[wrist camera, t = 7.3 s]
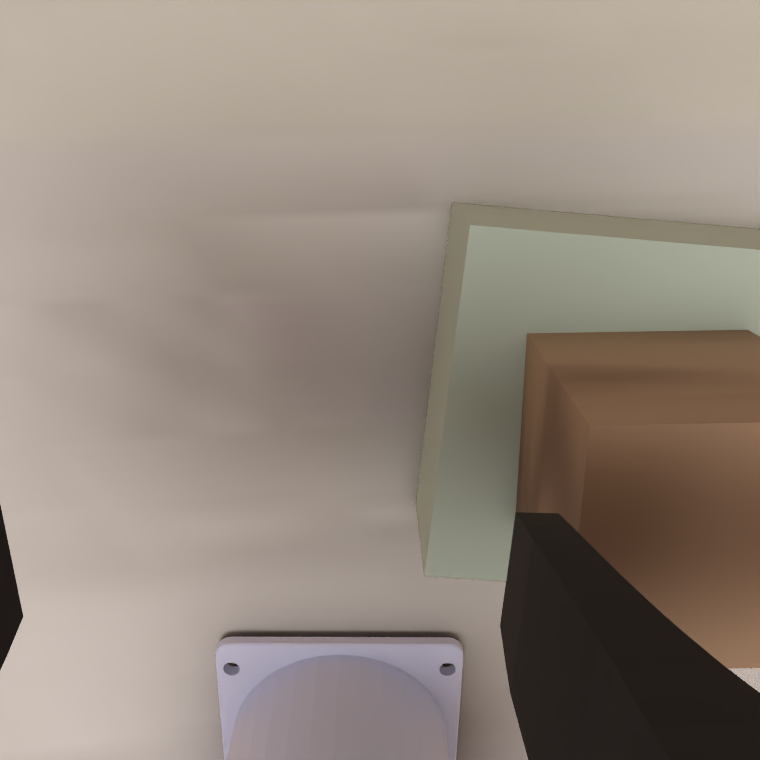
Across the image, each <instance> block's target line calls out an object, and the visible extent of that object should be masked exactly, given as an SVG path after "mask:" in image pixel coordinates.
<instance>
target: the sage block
mask: <svg viewBox="0 0 760 760" xmlns="http://www.w3.org/2000/svg"><path fill="white" fill-rule="evenodd" d="M702 330H749V331H751V332H753V333H754V334H756V335H758V336H759V337H760V229H752V228H740V227H729V226H717V225H706V224H694V223H682V222H671V221H659V220H648V219H636V218H625V217H613V216H602V215H590V214H579V213H567V212H556V211H544V210H533V209H521V208H510V207H498V206H487V205H475V204H464V203H452V206H451V215H450V223H449V231H448V240H447V248H446V256H445V265H444V273H443V282H442V290H441V298H440V307H439V315H438V323H437V332H436V340H435V348H434V357H433V365H432V373H431V382H430V390H429V399H428V407H427V415H426V424H425V432H424V440H423V449H422V457H421V465H420V474H419V482H418V491H417V499H416V508H417V517H418V526H419V534H420V543H421V552H422V561H423V569H424V576H430V577H445V578H461V579H477V580H492V581H506V580H507V572H508V565H509V557H510V550H511V542H512V535H513V527H514V520H515V513H516V501H517V484H518V468H519V452H520V436H521V420H522V404H523V388H524V371H525V355H526V340H527V333H579V332H640V331H702Z"/></svg>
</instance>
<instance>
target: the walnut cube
mask: <svg viewBox="0 0 760 760" xmlns="http://www.w3.org/2000/svg"><path fill="white" fill-rule="evenodd" d="M516 512H526V513H559V514H560V515H561V516H562V517H563V518H564V519H565V520H566V521H567V522H568V523H569V524H570V525H571V526H572V527H573V528H574V529H575V530H576V531H577V532H578V533H579V534H580V535H581V536H582V537H583V538H584V539H585V540H586V541H587V542H588V543H589V544H590V545H591V546H592V547H593V548H594V549H595V550H596V551H597V552H598V553H599V554H600V555H601V556H602V557H603V558H604V559H605V560H606V561H607V562H608V563H610V564H611V565H612V566H613V567H614V568H615V569H616V570H617V571H618V572H619V573H620V574H621V575H622V576H623V577H624V578H625V579H626V580H627V581H628V582H629V583H630V584H631V585H632V586H633V587H634V588H635V589H636V590H638V591H639V592H640V593H641V594H642V595H643V596H644V597H645V598H646V599H647V600H648V601H649V602H650V603H652V604H653V605H654V606H655V607H656V608H657V609H658V610H659V611H660V612H661V613H663V614H664V615H665V616H666V617H667V618H668V619H669V620H670V621H672V622H673V623H674V624H675V625H676V626H677V627H678V628H679V629H681V630H682V631H683V632H684V633H685V634H687V635H688V636H689V637H690V638H691V639H693V640H694V641H695V642H696V643H697V644H699V645H700V646H701V647H702V648H703V649H705V650H706V651H707V652H708V653H709V654H710V655H712V656H713V657H714V658H715V659H716V660H718V661H719V662H720V663H721V664H723V665H724V666H725V667H726V668H760V337H759V336H758V335H756V334H754V333H753V332H751V331H749V330H702V331H640V332H579V333H527V340H526V355H525V371H524V388H523V404H522V420H521V436H520V452H519V468H518V484H517V501H516Z"/></svg>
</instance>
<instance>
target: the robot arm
mask: <svg viewBox="0 0 760 760" xmlns="http://www.w3.org/2000/svg"><path fill="white" fill-rule="evenodd" d="M22 618H23V613H22V609H21V604H20V599H19V594H18V589H17V584H16V579H15V574H14V569H13V565H12V560H11V555H10V550H9V545H8V540H7V535H6V530H5V525H4V520H3V516H2V511H1V506H0V669H1V667H2V665H3V663H4V661H5V658H6V656H7V654H8V652H9V649H10V647H11V644H12V642H13V640H14V637H15V635H16V632H17V630H18V628H19V625H20V623H21V620H22ZM500 627H501V634H502V641H503V648H504V655H505V662H506V668H507V674H508V681H509V687H510V693H511V697H512V701H513V704H514V708H515V712H516V716H517V719H518V723H519V727H520V730H521V734H522V738H523V741H524V745H525V749H526V752H527V756H528V759H529V760H760V693H759V692H758V691H756V690H755V689H754V688H752V687H751V686H750V685H748V684H747V683H746V682H744V681H743V680H742V679H740V678H739V677H738V676H737V675H735V674H734V673H733V672H731V671H730V670H729V669H728V668H726V667H725V666H724V665H723V664H721V663H720V662H719V661H718V660H716V659H715V658H714V657H713V656H712V655H710V654H709V653H708V652H707V651H706V650H705V649H703V648H702V647H701V646H700V645H699V644H697V643H696V642H695V641H694V640H693V639H691V638H690V637H689V636H688V635H687V634H685V633H684V632H683V631H682V630H681V629H679V628H678V627H677V626H676V625H675V624H674V623H673V622H672V621H670V620H669V619H668V618H667V617H666V616H665V615H664V614H663V613H661V612H660V611H659V610H658V609H657V608H656V607H655V606H654V605H653V604H652V603H650V602H649V601H648V600H647V599H646V598H645V597H644V596H643V595H642V594H641V593H640V592H639V591H638V590H636V589H635V588H634V587H633V586H632V585H631V584H630V583H629V582H628V581H627V580H626V579H625V578H624V577H623V576H622V575H621V574H620V573H619V572H618V571H617V570H616V569H615V568H614V567H613V566H612V565H611V564H610V563H608V562H607V561H606V560H605V559H604V558H603V557H602V556H601V555H600V554H599V553H598V552H597V551H596V550H595V549H594V548H593V547H592V546H591V545H590V544H589V543H588V542H587V541H586V540H585V539H584V538H583V537H582V536H581V535H580V534H579V533H578V532H577V531H576V530H575V529H574V528H573V527H572V526H571V525H570V524H569V523H568V522H567V521H566V520H565V519H564V518H563V517H562V516H561V515H560V514H559V513H526V512H516V513H515V520H514V527H513V535H512V542H511V550H510V557H509V565H508V572H507V580H506V587H505V594H504V602H503V609H502V617H501V624H500ZM463 657H464V656H463V650H462V645H461V644H460V642H459V641H458V640H456V639H454V638H449V637H226V638H224V639H222V640H221V641H220V642H219V643H218V645H217V649H216V654H215V660H216V671H217V683H218V695H219V707H220V719H221V731H222V742H223V754H224V760H456V755H457V741H458V727H459V713H460V699H461V685H462V671H463ZM227 663H235V664H237V665H238V666H230V665H228V664H227ZM445 663H451V664H452V665H451V666H449V667H443V666H441V665H443V664H445Z"/></svg>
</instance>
